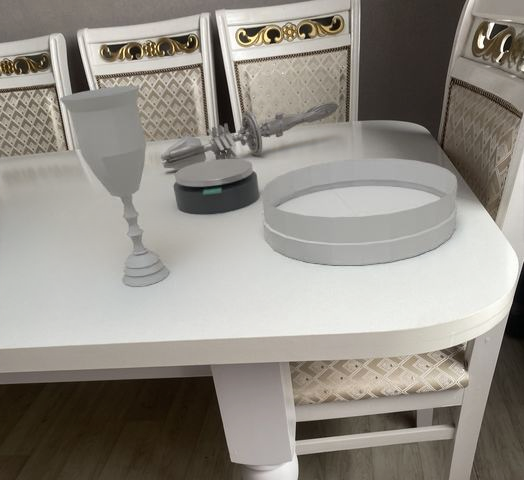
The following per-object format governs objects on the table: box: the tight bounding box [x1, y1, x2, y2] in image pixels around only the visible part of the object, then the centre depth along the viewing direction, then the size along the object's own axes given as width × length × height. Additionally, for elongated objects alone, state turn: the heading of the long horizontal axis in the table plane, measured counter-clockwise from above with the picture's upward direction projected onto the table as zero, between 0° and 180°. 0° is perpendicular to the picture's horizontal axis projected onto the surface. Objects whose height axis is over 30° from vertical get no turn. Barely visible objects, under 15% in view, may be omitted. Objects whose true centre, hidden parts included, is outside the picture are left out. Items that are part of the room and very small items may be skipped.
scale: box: [172, 170, 260, 216], centre depth 75 cm, size 12×12×3 cm
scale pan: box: [174, 158, 254, 187], centre depth 74 cm, size 11×11×1 cm
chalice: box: [59, 85, 170, 287], centre depth 52 cm, size 7×7×18 cm
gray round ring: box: [261, 157, 458, 266], centre depth 61 cm, size 22×22×5 cm
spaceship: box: [159, 101, 339, 170], centre depth 95 cm, size 8×35×8 cm
